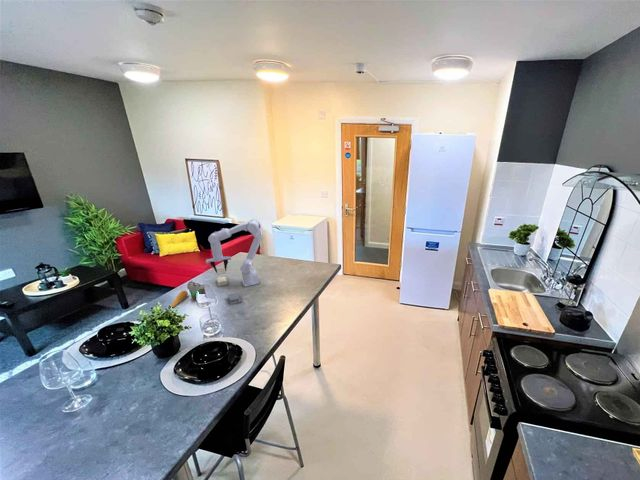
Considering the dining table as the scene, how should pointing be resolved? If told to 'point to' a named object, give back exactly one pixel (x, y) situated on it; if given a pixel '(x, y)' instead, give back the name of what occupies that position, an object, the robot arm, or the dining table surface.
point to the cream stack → (222, 281)
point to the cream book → (220, 270)
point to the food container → (195, 289)
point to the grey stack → (234, 298)
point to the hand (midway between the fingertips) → (221, 271)
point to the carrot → (180, 298)
